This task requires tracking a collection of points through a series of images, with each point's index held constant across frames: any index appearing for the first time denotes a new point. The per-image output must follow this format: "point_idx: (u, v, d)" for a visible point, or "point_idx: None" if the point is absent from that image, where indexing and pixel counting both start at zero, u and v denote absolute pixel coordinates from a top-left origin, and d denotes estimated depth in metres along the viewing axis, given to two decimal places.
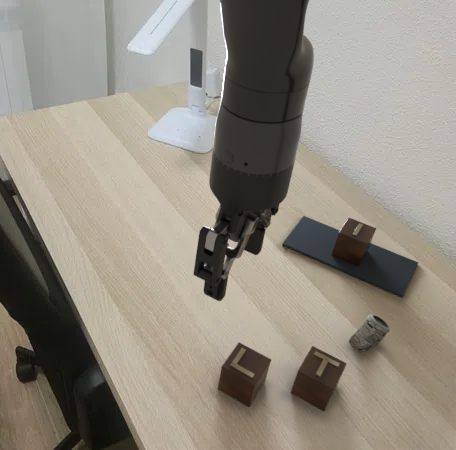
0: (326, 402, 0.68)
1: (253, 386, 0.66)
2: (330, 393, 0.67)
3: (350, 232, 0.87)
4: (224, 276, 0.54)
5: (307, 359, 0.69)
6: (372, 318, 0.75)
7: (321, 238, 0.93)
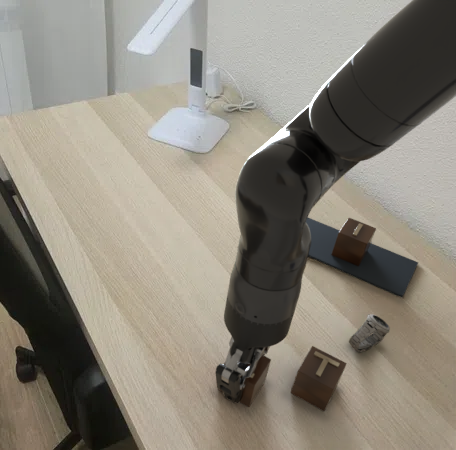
0: (326, 402, 0.68)
1: (253, 386, 0.66)
2: (330, 393, 0.67)
3: (350, 232, 0.87)
4: (242, 388, 0.66)
5: (307, 359, 0.69)
6: (372, 318, 0.75)
7: (321, 238, 0.93)
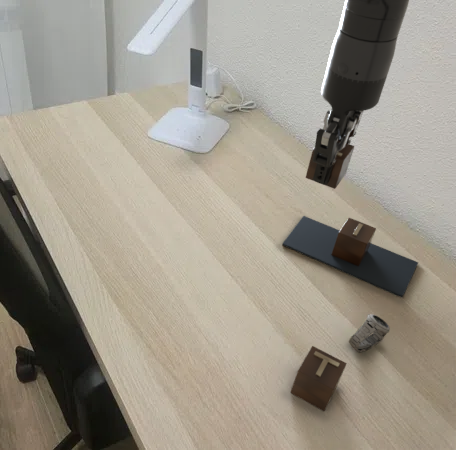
0: (326, 402, 0.68)
1: (342, 162, 0.77)
2: (330, 393, 0.67)
3: (350, 232, 0.87)
4: (333, 162, 0.76)
5: (307, 359, 0.69)
6: (372, 318, 0.75)
7: (321, 238, 0.93)
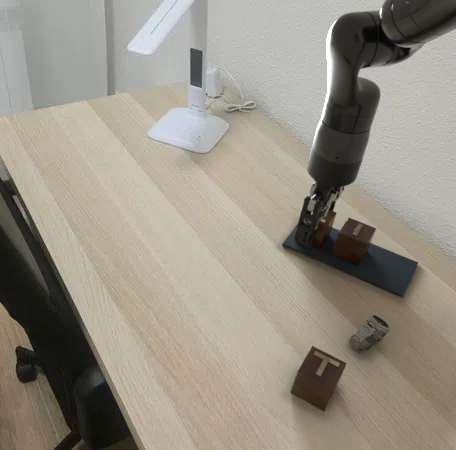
0: (326, 402, 0.68)
1: (325, 228, 0.88)
2: (330, 393, 0.67)
3: (350, 232, 0.87)
4: (315, 228, 0.86)
5: (307, 359, 0.69)
6: (372, 318, 0.75)
7: None
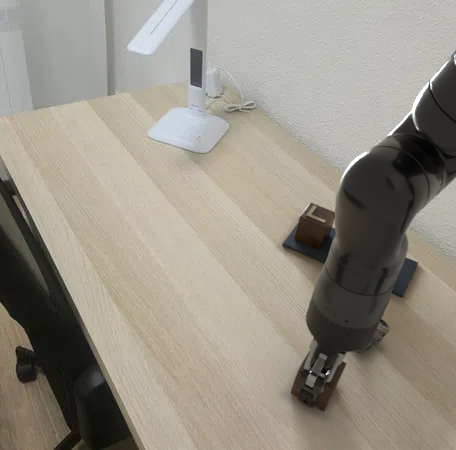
0: (326, 402, 0.68)
1: (325, 228, 0.88)
2: (330, 393, 0.67)
3: None
4: (320, 392, 0.66)
5: (306, 359, 0.69)
6: None
7: None
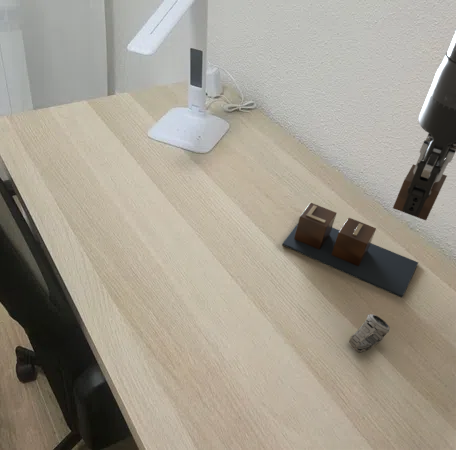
0: (429, 209, 0.75)
1: (325, 228, 0.88)
2: (435, 197, 0.73)
3: (350, 232, 0.87)
4: (428, 194, 0.73)
5: (410, 172, 0.76)
6: (372, 318, 0.75)
7: None
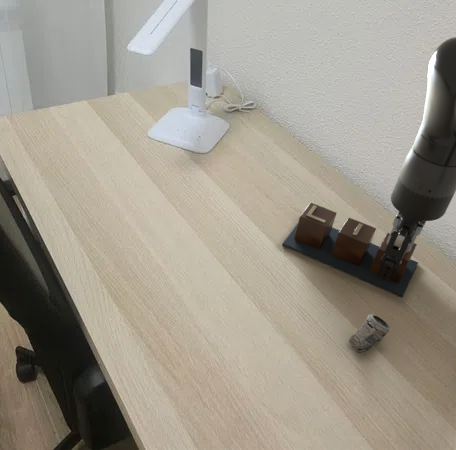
0: (401, 274, 0.85)
1: (325, 228, 0.88)
2: (405, 265, 0.83)
3: (350, 232, 0.87)
4: (399, 264, 0.81)
5: (384, 241, 0.86)
6: (372, 318, 0.75)
7: None
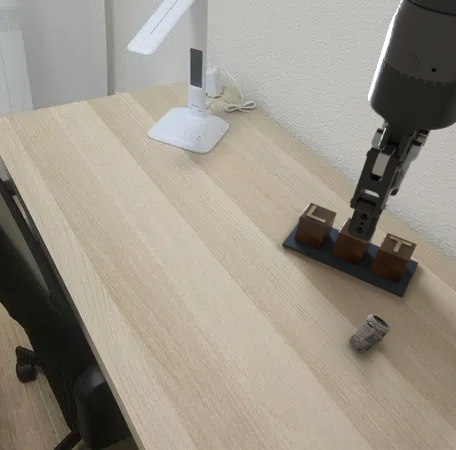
0: (401, 274, 0.85)
1: (325, 228, 0.88)
2: (405, 265, 0.83)
3: None
4: (382, 209, 0.48)
5: (384, 241, 0.86)
6: (372, 318, 0.75)
7: None
